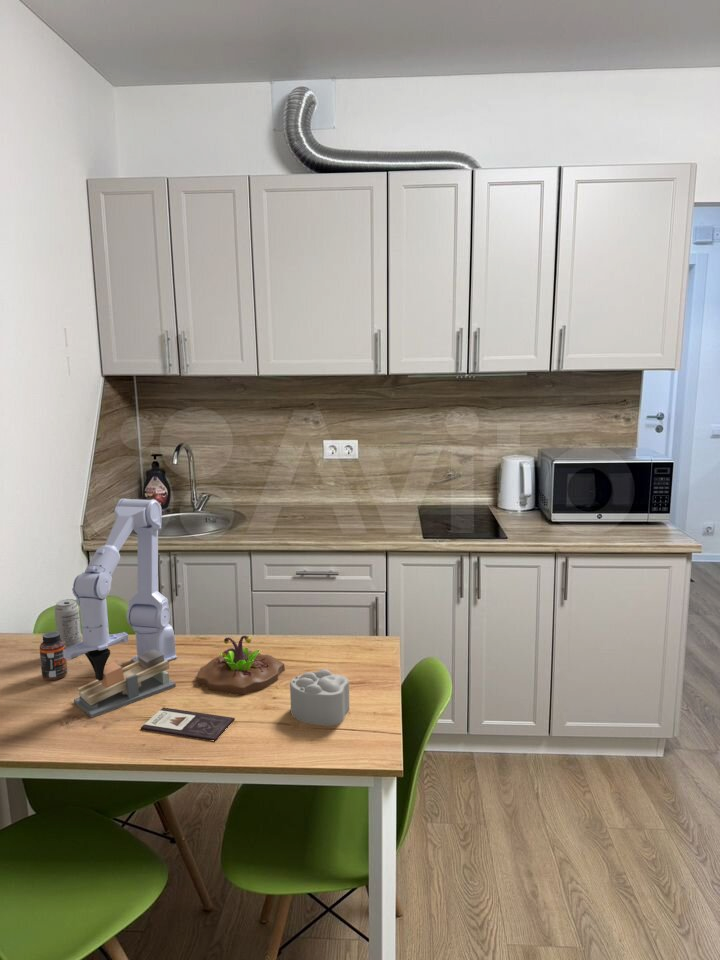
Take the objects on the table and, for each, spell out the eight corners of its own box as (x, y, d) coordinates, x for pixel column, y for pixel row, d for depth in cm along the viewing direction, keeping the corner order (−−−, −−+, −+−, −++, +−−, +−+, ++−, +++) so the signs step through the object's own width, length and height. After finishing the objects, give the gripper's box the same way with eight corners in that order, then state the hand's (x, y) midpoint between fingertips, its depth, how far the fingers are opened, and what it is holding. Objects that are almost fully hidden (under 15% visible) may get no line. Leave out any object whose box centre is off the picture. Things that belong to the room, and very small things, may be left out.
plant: (249, 702, 166) (247, 658, 164) (185, 685, 175) (182, 643, 173) (295, 668, 183) (294, 627, 181) (235, 653, 192) (232, 614, 190)
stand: (156, 673, 181) (154, 651, 180) (175, 686, 174) (174, 663, 173) (74, 702, 167) (71, 678, 166) (91, 717, 160) (89, 693, 158)
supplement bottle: (58, 682, 177) (54, 639, 175) (37, 680, 178) (32, 638, 176) (72, 671, 182) (68, 630, 180) (52, 670, 184) (47, 628, 182)
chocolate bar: (215, 739, 149) (140, 727, 154) (215, 743, 149) (141, 731, 154) (234, 717, 158) (163, 707, 163) (234, 721, 158) (163, 711, 163)
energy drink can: (77, 648, 197) (72, 596, 194) (86, 654, 193) (81, 602, 190) (55, 654, 193) (50, 602, 190) (64, 661, 189) (58, 608, 186)
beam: (157, 664, 179) (154, 647, 178) (170, 672, 174) (167, 655, 173) (80, 700, 166) (76, 682, 165) (91, 710, 161) (87, 691, 160)
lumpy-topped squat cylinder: (339, 727, 154) (338, 691, 152) (283, 720, 157) (282, 684, 156) (352, 704, 164) (352, 669, 162) (299, 698, 167) (298, 663, 166)
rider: (117, 676, 170) (114, 661, 169) (124, 682, 167) (121, 667, 166) (101, 684, 167) (98, 668, 166) (108, 689, 164) (105, 674, 163)
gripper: (69, 637, 155) (75, 695, 157) (132, 619, 164) (136, 674, 167) (57, 628, 160) (62, 684, 162) (119, 612, 170) (123, 665, 172)
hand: (99, 679), depth 165 cm, fingers closed
